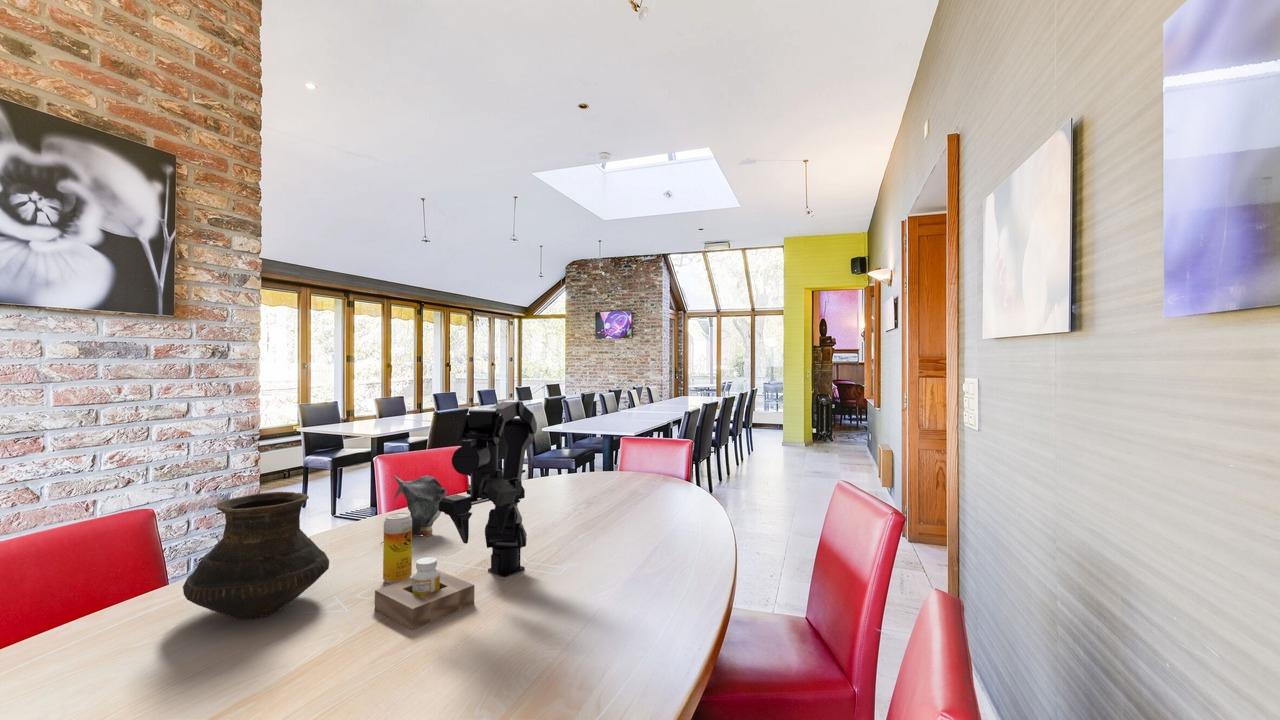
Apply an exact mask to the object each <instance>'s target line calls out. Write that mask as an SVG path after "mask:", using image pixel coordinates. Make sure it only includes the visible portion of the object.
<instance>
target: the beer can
mask: <svg viewBox="0 0 1280 720" xmlns="http://www.w3.org/2000/svg"><path fill="white" fill-rule="evenodd" d="M410 514H411V513H410V512H409V513H408V512H397V513H391V514H387V515H386V516H385V518H384V520H383V542H384V545H382V547H383V550H382V551H383V554H382V555H383V558H382V561H383V562H382V569H383V570H382V580H383V581H384V582H385V583H386V584H388V585H392V584H395V583H398V582H401V581H404V580H407V579H410V578H411V576H412V575H413V573H412V570H413V569H412V568H413V567H412V563H413V562H412V559H413V557H412V555H413V535H412V518H411V516H410Z"/></svg>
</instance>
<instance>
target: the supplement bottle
mask: <svg viewBox="0 0 1280 720" xmlns="http://www.w3.org/2000/svg"><path fill="white" fill-rule="evenodd" d="M437 562H438V559H437V558H436V557H432V556H431V557H430V556H429V557H428V556H427V557H422V558H420V559H417V560H416V562H415V568H416V570H415V571H414V572H413V573H412V575H411V576H412V577H411V578H412V594H415V595H417V596H419V597H421V596H423V595H426V594H429V593H432V592H434V591H437V590H439V589H440V571H441V570H439V568H437V565H438V563H437Z"/></svg>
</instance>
